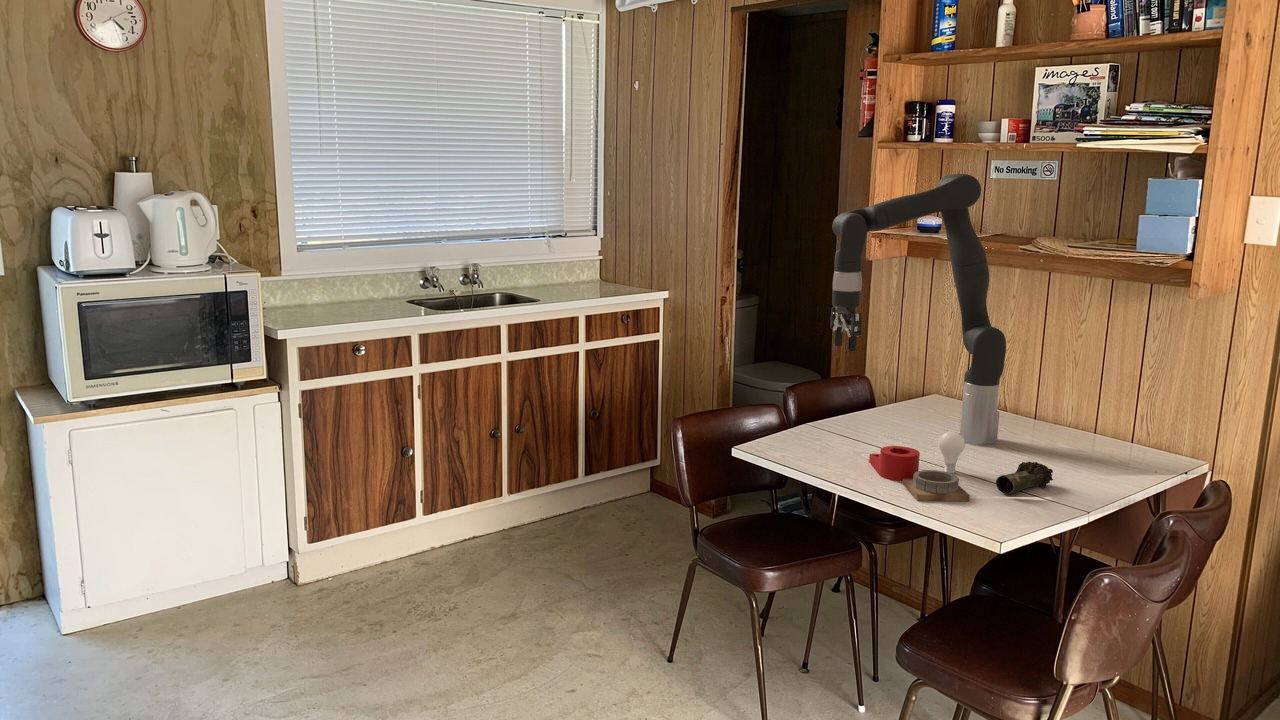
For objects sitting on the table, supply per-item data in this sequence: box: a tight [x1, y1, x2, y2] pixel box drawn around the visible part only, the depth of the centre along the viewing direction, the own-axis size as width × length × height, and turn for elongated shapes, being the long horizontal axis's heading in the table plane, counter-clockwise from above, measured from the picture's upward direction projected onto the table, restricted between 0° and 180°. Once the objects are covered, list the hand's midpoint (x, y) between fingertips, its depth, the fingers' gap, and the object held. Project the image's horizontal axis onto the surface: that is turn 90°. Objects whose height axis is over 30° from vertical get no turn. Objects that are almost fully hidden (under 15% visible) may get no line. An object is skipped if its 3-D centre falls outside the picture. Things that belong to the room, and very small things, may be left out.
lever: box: [868, 445, 921, 482], centre depth 244 cm, size 18×9×7 cm, turn 15°
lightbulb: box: [938, 430, 966, 474], centre depth 242 cm, size 6×6×11 cm
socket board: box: [901, 469, 970, 502], centre depth 228 cm, size 12×12×4 cm
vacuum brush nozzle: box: [995, 461, 1054, 496], centre depth 231 cm, size 18×7×6 cm, turn 125°
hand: (844, 348), depth 261 cm, fingers open, 8 cm apart
